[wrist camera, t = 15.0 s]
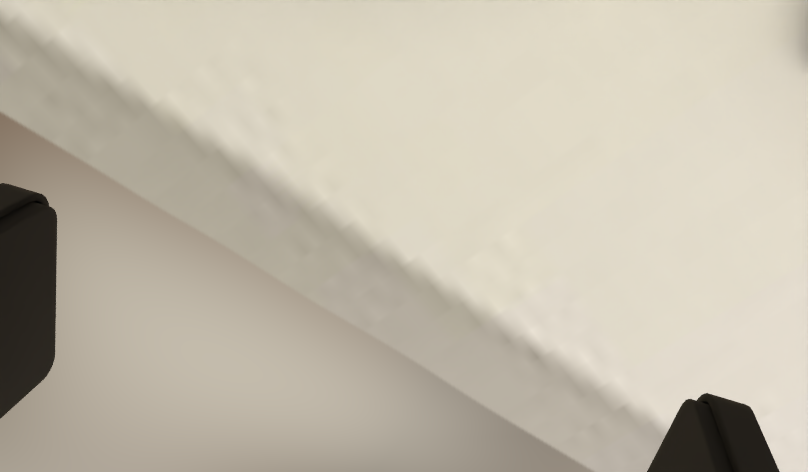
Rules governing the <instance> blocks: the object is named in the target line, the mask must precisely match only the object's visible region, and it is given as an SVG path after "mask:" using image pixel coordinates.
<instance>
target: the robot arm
mask: <svg viewBox="0 0 808 472" xmlns="http://www.w3.org/2000/svg"><path fill="white" fill-rule="evenodd" d="M56 249H57V215H56V212H55V210H54V209H53V208H51V207H49V203H48V201H47V199H46V197H45V196H43V195H42V194H39V193H36V192H33V191H29V190H26V189H23V188H19V187H16V186H13V185H9V184H4V183H2V184H0V418H2V417H3V416H4V415H5V414H6V413H7V412H8V411H9V410H10V409H11V408H12V407H13V406H15V405H16V404H17V403H18V402H19V401H20V400H21V399H22V398H24V397H25V396H26V395H27V394H28V393H29V392H30V391H31V390H32V389H33V388H35V387H36V386H37V385H38V384H39V383H40V382H41V381H42V380H43V379H44V378H45V377H46V376H47V374H48V373H49V371H50V369H51V367H52V365H53V361H54V358H55V318H56ZM647 472H779V470H778V467H777V465H776V463H775V461H774V458H773V456H772V454H771V451H770V449H769V447H768V445H767V442H766V440H765V438H764V436H763V433H762V431H761V429H760V426H759V424H758V422H757V420H756V417H755V415H754V413H753V411H752V409H751V408H750V407H749V406H747V405H745V404H741V403H738V402H735V401H731V400H728V399H725V398H721V397H718V396H715V395H711V394H708V393H706V394H703V395H702V396H700V397H699V398H698V400H697V401H695V400H692V399H688V400H686V401H685V402H684V403H683V404H682V406H681V407H680V409H679V411H678V413H677V415H676V417H675V419H674V421H673V423H672V425H671V427H670V429H669V431H668V433H667V434H666V436H665V438H664V440H663V442H662V444H661V446H660V448H659V450H658V452H657V454H656V456H655V458H654V460H653V461H652V463H651V465H650V467H649V469H648V471H647Z"/></svg>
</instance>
